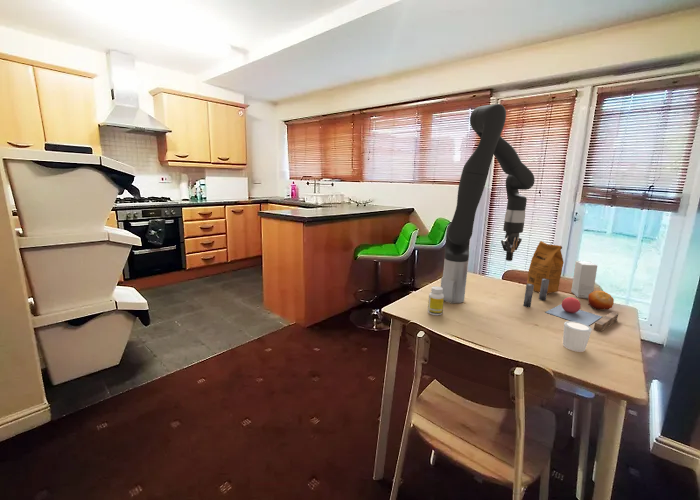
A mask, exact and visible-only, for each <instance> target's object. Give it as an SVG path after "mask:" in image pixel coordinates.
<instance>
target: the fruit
mask: <svg viewBox="0 0 700 500" xmlns="http://www.w3.org/2000/svg"><path fill="white" fill-rule="evenodd" d="M587 300H588V304H587V305H588V306H590V307H591V308H594V310H597V311H599V310H601V311H604V310H610V309H612V308H613V306H614V301H615V300H614V297H613V296H612V295H611V294H610V293H608V292H606V291H604V290H594V291H593V292H592V293H590V294H589V296H588V298H587Z"/></svg>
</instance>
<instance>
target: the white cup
mask: <svg viewBox="0 0 700 500" xmlns="http://www.w3.org/2000/svg"><path fill="white" fill-rule="evenodd" d="M592 331H593V329H592V327H591V326H590V325H589V326H587V325H585V324H583V323H579V322H574V321H569V320H566V321H564V323H563V333H562V335H563V336H562V345H563V346H564V348H566V349H568V350H570V351H573V352H576V353H577V352H579V353H583V352H585V351H586V348H587V346H588V343H589V339H590V336H591V333H592Z"/></svg>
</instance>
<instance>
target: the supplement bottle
mask: <svg viewBox="0 0 700 500" xmlns="http://www.w3.org/2000/svg"><path fill="white" fill-rule="evenodd" d="M430 291H431V292H429V293H428V301H427V303H428V304H427V313H428V314H429V313H430V314H429V315H432V316H441V315H442V314H443V311H444V310H443V309H444V302H445V301H444V295H443V294H442V292H443V288H441V286H431V289H430Z"/></svg>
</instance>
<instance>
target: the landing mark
mask: <svg viewBox="0 0 700 500" xmlns="http://www.w3.org/2000/svg"><path fill="white" fill-rule="evenodd" d="M544 312H545V314H548V315H551V316H555V317H557V318H561V319H564V320H566V321H574V322H579V323H583V324H585V325H587V326H589V327H590V326H591V325H592V324H595V322H597V321H598V320H600V319H601V318H603V316H601V315H599V314H595V313H593V312H588V311H584V310H583V309H580V310H579V311H578V312H576V313H568V312H566V311H565V310H564V309H563V308H562V303H561V304H559V305H556V306H554V307H553V308H550V309H548V310H546V311H544Z"/></svg>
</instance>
